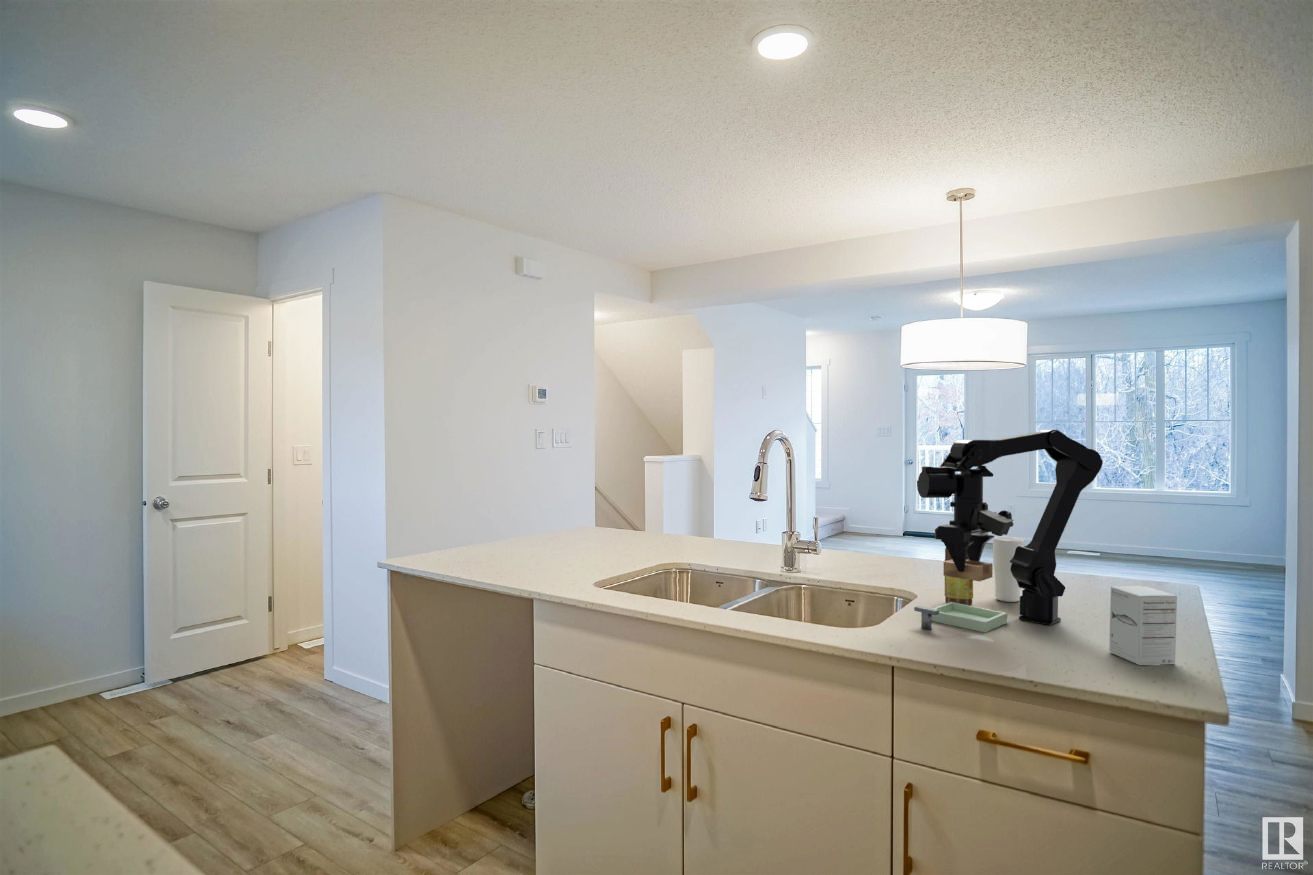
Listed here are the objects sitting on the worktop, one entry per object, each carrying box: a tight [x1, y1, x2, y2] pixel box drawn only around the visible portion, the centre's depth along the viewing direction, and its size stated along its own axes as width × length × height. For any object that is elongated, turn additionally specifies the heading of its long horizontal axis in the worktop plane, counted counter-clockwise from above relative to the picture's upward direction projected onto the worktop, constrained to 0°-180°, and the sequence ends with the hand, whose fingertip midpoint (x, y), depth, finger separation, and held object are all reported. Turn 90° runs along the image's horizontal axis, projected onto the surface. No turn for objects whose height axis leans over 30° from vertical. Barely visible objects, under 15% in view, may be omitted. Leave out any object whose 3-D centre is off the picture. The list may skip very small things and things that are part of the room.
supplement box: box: [1108, 585, 1178, 666], centre depth 127 cm, size 7×7×13 cm
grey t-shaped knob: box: [913, 605, 939, 631], centre depth 145 cm, size 5×2×4 cm, turn 41°
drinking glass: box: [992, 536, 1025, 603], centre depth 170 cm, size 7×7×15 cm
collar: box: [943, 559, 994, 582], centre depth 151 cm, size 8×6×3 cm
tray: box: [932, 602, 1008, 633], centre depth 151 cm, size 12×11×2 cm
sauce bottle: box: [944, 519, 974, 606], centre depth 165 cm, size 7×6×20 cm
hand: (967, 569), depth 151 cm, fingers closed on collar, 6 cm apart
